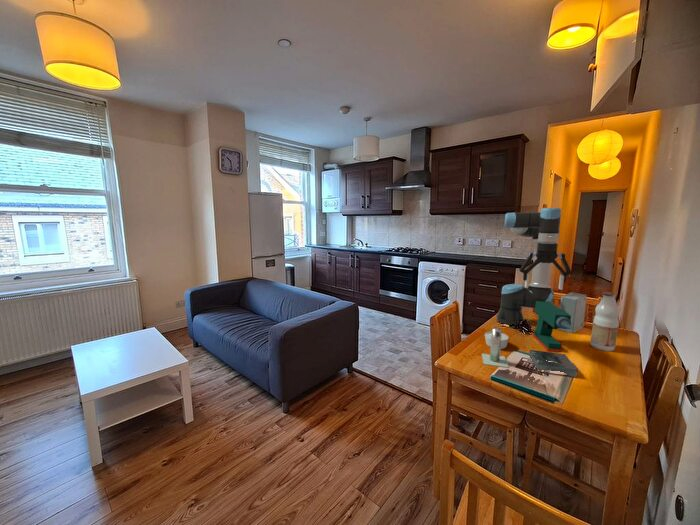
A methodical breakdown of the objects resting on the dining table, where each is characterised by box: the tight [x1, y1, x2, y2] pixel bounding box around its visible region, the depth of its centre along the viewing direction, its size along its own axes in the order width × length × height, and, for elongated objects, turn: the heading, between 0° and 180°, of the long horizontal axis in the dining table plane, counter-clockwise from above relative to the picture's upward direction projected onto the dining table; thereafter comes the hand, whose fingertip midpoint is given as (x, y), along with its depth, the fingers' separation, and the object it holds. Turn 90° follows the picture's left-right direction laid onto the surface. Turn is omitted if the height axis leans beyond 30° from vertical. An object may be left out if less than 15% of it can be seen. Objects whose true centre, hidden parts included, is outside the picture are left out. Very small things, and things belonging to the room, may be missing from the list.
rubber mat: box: [481, 353, 509, 368], centre depth 134 cm, size 10×10×1 cm
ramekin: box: [484, 331, 510, 350], centre depth 149 cm, size 11×11×5 cm
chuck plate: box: [528, 349, 578, 378], centre depth 128 cm, size 14×14×4 cm
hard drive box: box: [557, 291, 587, 334], centre depth 167 cm, size 16×8×20 cm, turn 124°
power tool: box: [531, 301, 573, 353], centre depth 142 cm, size 32×7×20 cm, turn 168°
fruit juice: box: [590, 291, 621, 352], centre depth 143 cm, size 9×9×28 cm
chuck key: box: [489, 326, 503, 362], centre depth 133 cm, size 4×8×15 cm, turn 161°
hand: (543, 288), depth 134 cm, fingers open, 13 cm apart
